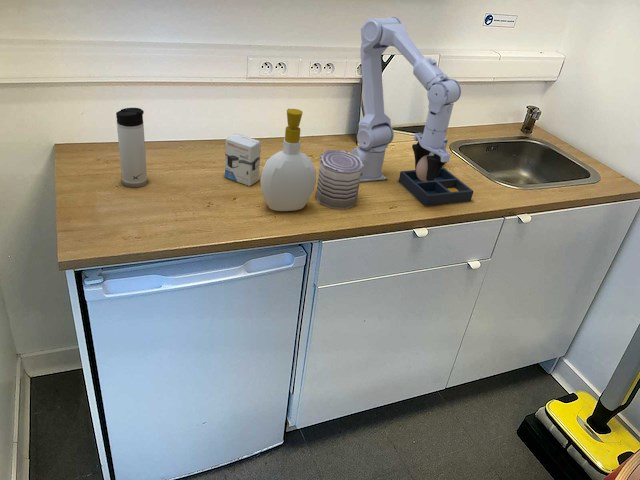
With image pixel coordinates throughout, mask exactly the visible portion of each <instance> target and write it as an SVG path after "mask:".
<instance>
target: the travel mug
mask: <svg viewBox="0 0 640 480" xmlns="http://www.w3.org/2000/svg"><path fill="white" fill-rule="evenodd" d="M144 113H145V112H144V110H143V109H142V108H139V107H126V108H122V109H120V110H118V111H116V113H115V114H116V116H115V117H116V129H117V130H116V131H117V139H118V151H119V161H120V173H121V182H122V184H123V185H124V186H125V187H128V188H141V187H143V186H145V185H147V183H148V174H147V173H148V172H147V171H148V170H147V156H146V144H145V143H146V142H145V140H146V139H145V127H144V116H143V115H144Z"/></svg>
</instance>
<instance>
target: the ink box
mask: <svg viewBox="0 0 640 480" xmlns="http://www.w3.org/2000/svg"><path fill="white" fill-rule="evenodd" d="M224 148H225V152H224V153H225V154H224V156H225V158H224V178H225V179H229V180H231V181H234V182H237V183H238V184H239V183H240V184H242V185H245V186H248V187H251V186H252V185H254V184H255V183H257V182H259V181H260V168H261V167H260V164H261V148H262V142H261V140H258V139H256V138H255V139H254V138H251V137H248V136H245V135H244V134H243V135H242V134H240V133H234V134H232V135H230V136H228V137H226V138H225V146H224Z"/></svg>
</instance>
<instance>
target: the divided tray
mask: <svg viewBox="0 0 640 480" xmlns="http://www.w3.org/2000/svg"><path fill="white" fill-rule="evenodd" d="M398 182H399V183H400V184H401V186H403V187H404V188H405V189H406V190H407V191H408V192H410V194H411V195H413V196H414V198H415V199H417V200H418V201H419V202H420V203H421V204H422V205H423V206H424V207H432V206H443V205H448V204H449V205H450V204H458V203H467V202H471V201H472V198H473V195H474V192H475V191H474V190H473V189H472V188H471V187H470V186H468V185H467V184H466V183H464V182H463V181H462V180H460V179H459V178H458V177H457V176H455V175H454V174H453V173H452V172H451V171H449V170H448V169H446V168H445V167H442V168H441V169H440V171H439V172H438V174H437V176H436V178H435V179H434V180H433V181H421V180H420V179H419V178H418V177H417V175H416V170H415V169H411V170H410V169H409V170H400V171H399V176H398Z"/></svg>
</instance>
